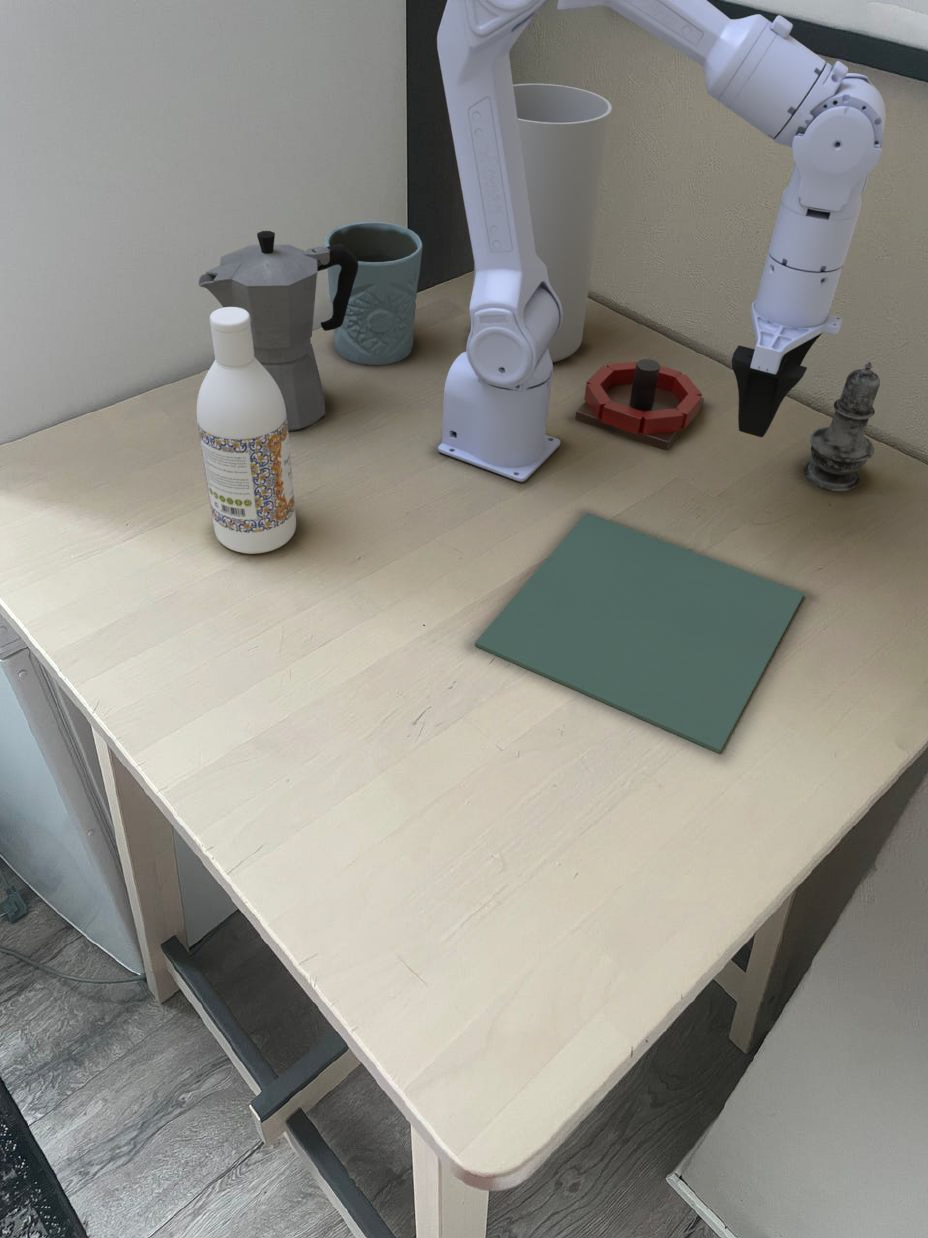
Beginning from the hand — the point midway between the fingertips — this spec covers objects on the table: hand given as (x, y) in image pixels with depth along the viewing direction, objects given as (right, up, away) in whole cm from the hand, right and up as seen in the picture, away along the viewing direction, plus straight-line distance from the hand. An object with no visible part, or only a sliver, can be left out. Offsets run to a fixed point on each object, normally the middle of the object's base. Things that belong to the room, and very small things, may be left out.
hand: (762, 411), depth 88 cm
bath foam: (-44, -10, +1) cm, 45 cm away
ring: (-7, +4, +17) cm, 19 cm away
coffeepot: (-43, +4, +16) cm, 46 cm away
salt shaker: (+10, -4, +11) cm, 15 cm away
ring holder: (-8, +3, +18) cm, 20 cm away
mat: (-11, -18, -6) cm, 22 cm away
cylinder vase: (-19, +14, +28) cm, 37 cm away
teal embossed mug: (-35, +12, +26) cm, 45 cm away
